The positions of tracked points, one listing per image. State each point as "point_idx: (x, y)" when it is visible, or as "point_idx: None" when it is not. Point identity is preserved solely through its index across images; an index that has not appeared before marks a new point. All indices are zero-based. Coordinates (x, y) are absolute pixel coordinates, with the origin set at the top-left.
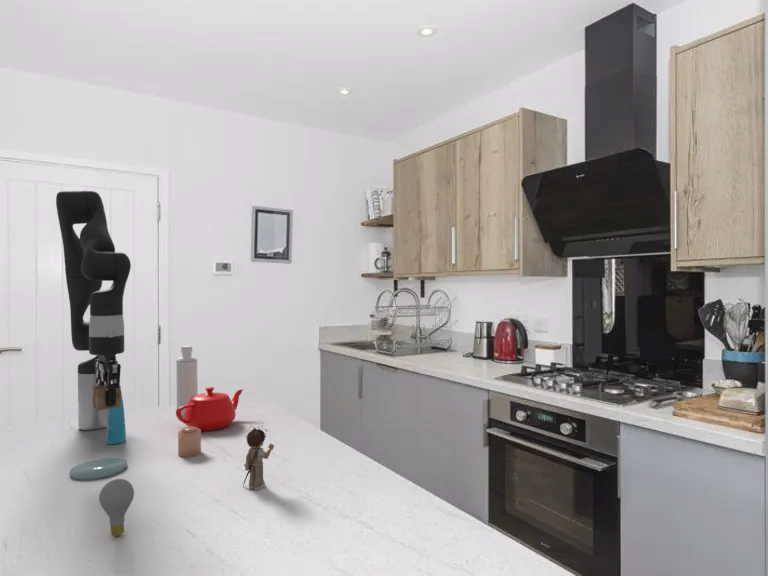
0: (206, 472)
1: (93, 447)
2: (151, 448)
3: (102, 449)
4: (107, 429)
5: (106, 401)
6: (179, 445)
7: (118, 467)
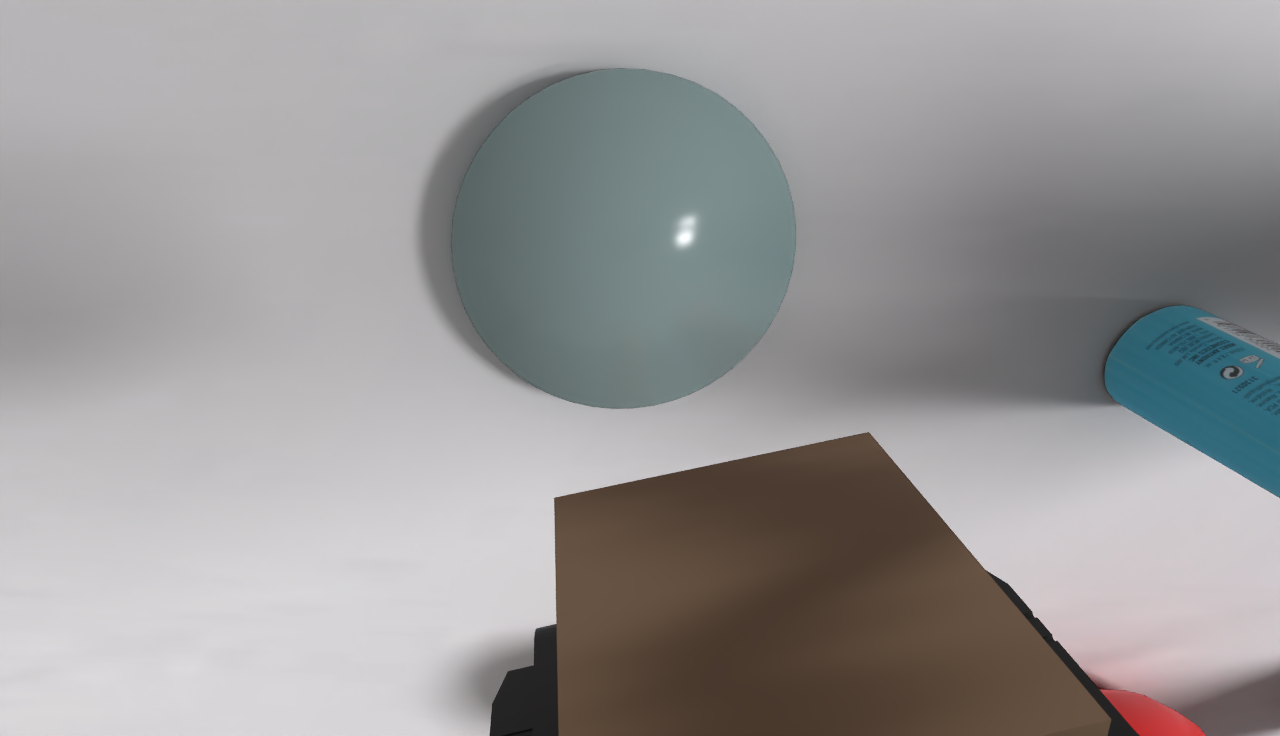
0: (311, 700)
1: (1157, 225)
2: None
3: (1065, 276)
4: (1251, 346)
5: (533, 692)
6: None
7: (539, 362)
